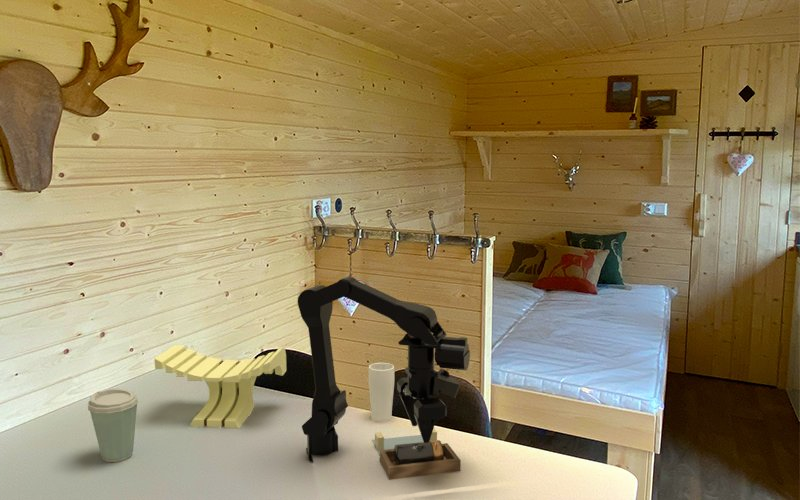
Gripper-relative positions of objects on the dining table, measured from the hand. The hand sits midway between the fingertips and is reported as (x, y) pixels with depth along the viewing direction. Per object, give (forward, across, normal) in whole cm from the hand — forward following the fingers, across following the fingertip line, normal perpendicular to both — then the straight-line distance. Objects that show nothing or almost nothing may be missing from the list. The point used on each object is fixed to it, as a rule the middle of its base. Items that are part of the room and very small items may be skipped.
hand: (420, 433), depth 144 cm
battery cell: (+7, 0, 0) cm, 7 cm away
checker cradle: (+8, +12, 0) cm, 14 cm away
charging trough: (+8, 0, 0) cm, 8 cm away
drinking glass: (+9, +29, +2) cm, 30 cm away
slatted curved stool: (+8, +43, +42) cm, 61 cm away
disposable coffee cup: (+8, +23, +66) cm, 71 cm away
